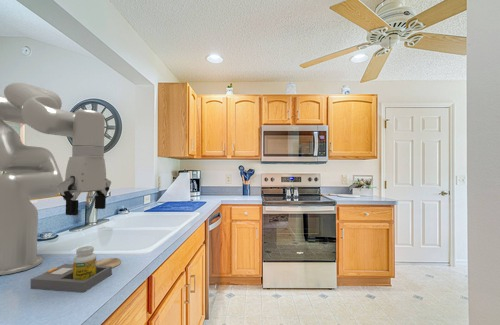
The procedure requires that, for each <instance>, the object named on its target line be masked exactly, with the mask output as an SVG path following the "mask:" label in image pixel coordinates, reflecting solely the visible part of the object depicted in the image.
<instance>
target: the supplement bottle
mask: <svg viewBox="0 0 500 325" xmlns="http://www.w3.org/2000/svg"><path fill="white" fill-rule="evenodd" d="M94 250H95V249H94V246H93V245H87V246H82V247H78V248H77V249H76V256H75V257H74V258H73V260H72V261H73V263H72V264H73V279H74V280H87V279H89V278H90V277H92V276H94V275H95V274H96V261H97V254H96V253H94Z"/></svg>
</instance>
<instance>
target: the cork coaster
mask: <svg viewBox="0 0 500 325" xmlns="http://www.w3.org/2000/svg"><path fill="white" fill-rule="evenodd" d="M121 263H122V259H120V258H118V257H117V258H116V257H108V258H103V259H98V260H96V265H97V266H112V269H114V268H116V267H118V266H120V265H121Z"/></svg>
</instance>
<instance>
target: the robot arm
mask: <svg viewBox="0 0 500 325" xmlns="http://www.w3.org/2000/svg"><path fill="white" fill-rule="evenodd" d="M62 104H63V103H62V99H61V97H60V96H59V94H57V93H56V92H54V91H52V90H49V89H45V88H43V87H38V86H36V85H32V84H28V83H25V82H24V83H23V82H13V83H10V84H8V85H6V86H5V87H4V90H3V95H0V172H3V173H1V174H0V276H5V275H10V274H16V273H20V272H23V271H27V270H30V269H33V268H34V267H38V266H39V265H40V264H43V260H44V258H43V257H42V256H37V255H38V254H37V253H38V230H39V227H38V224H39V223H38V222H39V221H38V220H39V212H38V208H37V207H36V206H35V205H34V203H32V201H31V200H32V199H33V200H34V199H41V198H42V199H43V198H51V197H55V196H57V195H60V196H61V197H62V198H63V200H64V201H65V216H77V215H79V199H78V198H79V196H80V195H81V194H82V193H90V192H94V193H95V194H96V195H95V196H94V209H95V210H104V209H106V204H107V202H106V199H107V198H106V197H107V196H108V192H109V191H110V188H111V185H112V181H111V180H110V179H108V178H107V169H106V161H105V127H106V126H105V125H106V123H105V120H106V118H105V116H104V114H103V113H101V112H99V111H96V110H93V109H76V111H74V112H72V111H68V110H64V109H62ZM6 122H11V123H16V124H22V125H27V126H29V127H30V128H31V129H33V130H35V131H37V132H39V133H41V134H45V135H54V136H60V137H68V138H72V149H71V150H72V151H71V155H72V156H70V157H69V158H68V162H67V165H66V169H65V177H64V180H63V176H62V173H61V171H60V169H59V167H58V164H57V161H56V159H55V156H54V154H53V153H52V152H51V151H50V150H49V149H47V148H45V147H41V146H34V145H33V146H32V145H26V144H24V143H23V142H22V139H21V137H20V135H19V133H18V132H17V131H16V130H15V129H14V128H13V127H12V126H10V125H9V124H7V123H6Z"/></svg>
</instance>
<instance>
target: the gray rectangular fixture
mask: <svg viewBox="0 0 500 325" xmlns="http://www.w3.org/2000/svg"><path fill="white" fill-rule="evenodd" d="M112 270H113V268H112V266H97V265H96V274H95V275H94V276H92V277H90V278H89V279H87V280H74V279H73V263H63V264H61V265H59V266H57V267H53V268H51V269H49V270H47V271H46V272H44V273H41V274H39V275H37V276H34V277H32V278H30V289H35V290H49V291H62V292H75V293H85V292H86V291H88V290H90V289H91V288H93V287H95V286H97V285H98V284H99V283H101V282H102V281H103V280H106V279H107V278H108V277H110V276H112V273H113V271H112Z"/></svg>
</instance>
